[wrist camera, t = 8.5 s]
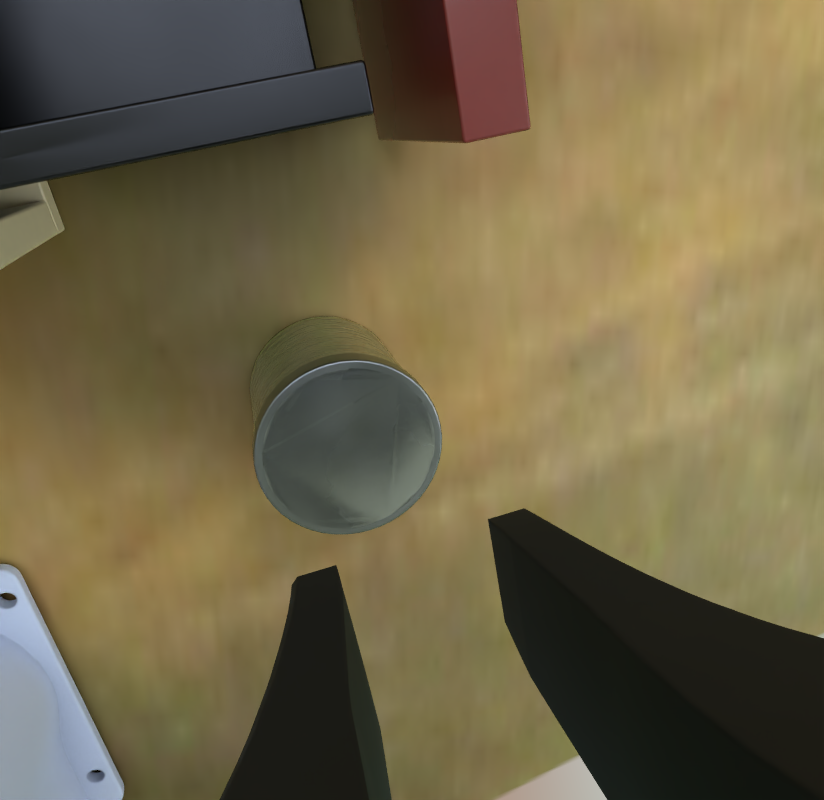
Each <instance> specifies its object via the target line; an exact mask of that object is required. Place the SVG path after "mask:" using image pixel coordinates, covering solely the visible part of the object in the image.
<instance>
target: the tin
mask: <svg viewBox="0 0 824 800" xmlns="http://www.w3.org/2000/svg"><path fill="white" fill-rule="evenodd" d="M250 395H251V405H252V413H253V422H254V432H253V443H252V447H253V459H254V467H255V472H256V476H257V479H258V481H259V484H260V487H261V489H262V490H263V492H264V494H265V496H266V497H267V499H268V500H269V501H270V502H271V504H272V505H273V506H274V507H275V508H276V509H277V510H278V511H279V512H280V513H281V514H282V515H284V516H285V517H287V518H288V519H289V520H291V521H292V522H294V523H296V524H298V525H300V526H302V527H305V528H307V529H310V530H313V531H317V532H321V533H328V534H353V533H360V532H364V531H368V530H372V529H374V528H377V527H380V526H382V525H384V524H386V523H388V522H390V521H392V520H394V519H395V518H397V517H399V516H400V515H402V514H403V513H404V512H405V511H407V510H408V509H409V508H410V507H411V506H412V505H413V504H414V503H415V502H416V501H417V500H418V499H419V498H420V497H421V496H422V494H423V493H424V492H425V490H426V489H427V487H428V486H429V484H430V482H431V481H432V479H433V476H434V474H435V472H436V470H437V466H438V463H439V460H440V454H441V448H442V432H441V425H440V421H439V417H438V414H437V411H436V409H435V406H434V404H433V403H432V401H431V399H430V398H429V396H428V394H427V393H426V392H425V391H424V389H423V388H422V387H421V386H420V384H419V383H418V382H417V381H416V380H415V379H414V378H413V377H412V376H411V375H410V374H409V373H408V372H407V371H405V370H404V369H402V368H401V367H400V365H399V364H398V363H397V362H396V360H395V359H394V358H393V356H392V355H391V354H390V353H389V351H388V350H387V349H386V347H385V346H384V345H383V344H382V342H381V341H380V340H379V339H378V338H377V337H376V336H375V335H374V334H373V333H372V332H371V331H369V330H368V329H366V328H365V327H363V326H361V325H359V324H357V323H355V322H353V321H350V320H347V319H343V318H338V317H314V318H309V319H305V320H302V321H299V322H296V323H294V324H292V325H290V326H288V327H286V328H285V329H283V330H282V331H280V332H279V333H278V334H276V335H275V336H274V337H273V338H272V339H271V340H270V341H269V342H268V343H267V344H266V345H265V347H264V348H263V350H262V351H261V352H260V354H259V356H258V358H257V360H256V362H255V365H254V368H253V371H252V375H251V381H250Z"/></svg>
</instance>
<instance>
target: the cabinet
mask: <svg viewBox="0 0 824 800" xmlns="http://www.w3.org/2000/svg"><path fill="white" fill-rule="evenodd" d="M62 231H64V225H63V222H62V220H61V217H60V214H59V212H58V209H57V206H56V204H55V201H54V198H53V196H52V193H51V190H50V188H49V185H48V182H47V181H43V182H38V183H33V184H28V185H23V186H18V187H14V188H9V189H4V190H0V270H1V269H2V268H4V267H6V266H7V265H9V264H10V263H12V262H14V261H15V260H17V259H18V258H20V257H22V256H23V255H25V254H26V253H28V252H30V251H31V250H33V249H35V248H36V247H38V246H39V245H41V244H43V243H44V242H46V241H47V240H49V239H51V238H52V237H54V236H55V235H57V234H59V233H61V232H62Z"/></svg>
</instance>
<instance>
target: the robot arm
mask: <svg viewBox="0 0 824 800" xmlns="http://www.w3.org/2000/svg"><path fill="white" fill-rule="evenodd" d="M488 522H489V528H490V534H491V540H492V546H493V552H494V558H495V565H496V571H497V577H498V583H499V589H500V595H501V601H502V607H503V613H504V619H505V623H506V625H507V627H508V629H509V632H510V634H511V636H512V638H513V640H514V642H515V645H516V647H517V649H518V651H519V653H520V655H521V657H522V660H523V662H524V664H525V666H526V668H527V670H528V672H529V674H530V676H531V678H532V680H533V681H534V683H535V685H536V686H537V688H538V690H539V691H540V693H541V694H542V696H543V698H544V699H545V701H546V702H547V704H548V706H549V707H550V709H551V711H552V712H553V714H554V715H555V717H556V719H557V720H558V722H559V723H560V725H561V727H562V728H563V730H564V731H565V733H566V735H567V736H568V738H569V739H570V741H571V742H572V744H573V746H574V747H575V749H576V750H577V752H578V754H579V755H580V757H581V758H582V760H583V762H584V763H585V765H586V766H587V768H588V770H589V771H590V773H591V774H592V776H593V778H594V779H595V781H596V782H597V784H598V786H599V787H600V789H601V790H602V792H603V793H604V795H605V797H606V798H607V800H824V638H820V637H817V636H813V635H810V634H806V633H803V632H799V631H796V630H792V629H788V628H785V627H782V626H779V625H776V624H772V623H769V622H766V621H763V620H760V619H757V618H754V617H751V616H748V615H746V614H743V613H740V612H737V611H735V610H732V609H729V608H726V607H724V606H721V605H718V604H715V603H712V602H710V601H707V600H705V599H702V598H700V597H697V596H695V595H692V594H690V593H687V592H685V591H683V590H681V589H678V588H676V587H674V586H672V585H669V584H667V583H665V582H663V581H660V580H658V579H656V578H654V577H652V576H649V575H647V574H645V573H643V572H641V571H639V570H637V569H635V568H633V567H631V566H629V565H627V564H625V563H623V562H621V561H619V560H617V559H615V558H613V557H611V556H609V555H607V554H605V553H603V552H601V551H599V550H598V549H596V548H594V547H592V546H590V545H588V544H587V543H585V542H583V541H581V540H579V539H578V538H576V537H574V536H572V535H570V534H569V533H567V532H565V531H563V530H562V529H560V528H558V527H556V526H555V525H553V524H551V523H549V522H548V521H546V520H544V519H542V518H541V517H539V516H537V515H535V514H533V513H532V512H530V511H528V510H526V509H521V510H517V511H514V512H511V513H508V514H504V515H501V516H498V517H494V518H491V519H488ZM2 593H11V594H13V595H14V596H15V597H16V598H17V599H15V600H6V599H3V598H2V597H1V596H0V800H122V798H123V795H124V783H123V781H122V779H121V777H120V775H119V773H118V771H117V769H116V767H115V765H114V763H113V761H112V759H111V757H110V755H109V752H108V750H107V748H106V746H105V744H104V742H103V740H102V738H101V736H100V734H99V732H98V730H97V728H96V726H95V724H94V722H93V720H92V718H91V716H90V714H89V712H88V710H87V707H86V705H85V703H84V701H83V699H82V697H81V695H80V693H79V691H78V689H77V687H76V685H75V683H74V681H73V679H72V677H71V675H70V673H69V671H68V669H67V667H66V664H65V662H64V660H63V658H62V656H61V654H60V652H59V650H58V648H57V646H56V644H55V642H54V640H53V638H52V636H51V634H50V632H49V630H48V628H47V626H46V624H45V622H44V619H43V617H42V615H41V613H40V611H39V609H38V607H37V605H36V603H35V601H34V599H33V597H32V595H31V593H30V591H29V589H28V587H27V585H26V583H25V581H24V579H23V576H22V574H21V573H20V572H19V570H18V569H17V568H15V567H13V566H11V565H7V564H0V594H2ZM92 770H101V772H97V773H95V772H92ZM220 800H391V793H390V787H389V780H388V774H387V768H386V762H385V755H384V749H383V743H382V736H381V730H380V726H379V722H378V718H377V714H376V710H375V706H374V703H373V699H372V695H371V691H370V687H369V684H368V680H367V676H366V672H365V668H364V665H363V661H362V657H361V654H360V650H359V646H358V643H357V639H356V635H355V632H354V628H353V624H352V621H351V617H350V613H349V610H348V606H347V602H346V599H345V595H344V591H343V588H342V584H341V580H340V577H339V573H338V569H337V566H336V565H335V566H332V567H328V568H325V569H322V570H318V571H315V572H312V573H308V574H305V575H302V576H298V577H297V578H296V580H295V581H294V583H293V584H292V588H291V598H290V604H289V610H288V615H287V619H286V623H285V628H284V632H283V636H282V640H281V643H280V647H279V650H278V653H277V657H276V660H275V663H274V667H273V670H272V674H271V677H270V680H269V683H268V686H267V689H266V692H265V694H264V697H263V700H262V702H261V705H260V708H259V710H258V713H257V716H256V718H255V721H254V724H253V726H252V729H251V732H250V734H249V736H248V739H247V741H246V744H245V746H244V748H243V751H242V753H241V755H240V758H239V760H238V762H237V764H236V766H235V769H234V771H233V773H232V775H231V777H230V779H229V781H228V783H227V785H226V788H225V790H224V792H223V794H222V796H221V798H220Z"/></svg>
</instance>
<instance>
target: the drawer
mask: <svg viewBox="0 0 824 800" xmlns="http://www.w3.org/2000/svg"><path fill="white" fill-rule="evenodd" d="M352 1H353V7H354V12H355V17H356V22H357V28H358V33H359V38H360V44H361V49H362V54H363V59H364V61H362V60H359V61H354V62H348V63H343V64H338V65H332V66H327V67H322V68H317V69H316V65H315V61H314V56H313V51H312V47H311V42H310V37H309V33H308V28H307V24H306V19H305V14H304V10H303V5H302V0H0V190H4V189H9V188H14V187H18V186H23V185H28V184H33V183H38V182H43V181H48V180H53V179H58V178H63V177H68V176H73V175H78V174H83V173H88V172H92V171H97V170H102V169H107V168H112V167H117V166H122V165H127V164H132V163H137V162H142V161H147V160H152V159H157V158H162V157H166V156H171V155H176V154H181V153H186V152H191V151H196V150H201V149H206V148H211V147H216V146H221V145H226V144H231V143H236V142H240V141H245V140H250V139H255V138H260V137H265V136H270V135H275V134H280V133H285V132H290V131H295V130H300V129H305V128H310V127H314V126H319V125H324V124H329V123H334V122H339V121H344V120H349V119H354V118H359V117H364V116H369V115H372V114H373V113H374V117H375V122H376V128H377V133H378V138H379V140H396V141H422V142H448V143H469V142H474V141H478V140H483V139H488V138H492V137H497V136H502V135H506V134H511V133H516V132H520V131H525V130H528V129H530V118H529V109H528V100H527V91H526V82H525V72H524V63H523V54H522V45H521V36H520V27H519V18H518V9H517V0H352Z"/></svg>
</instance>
